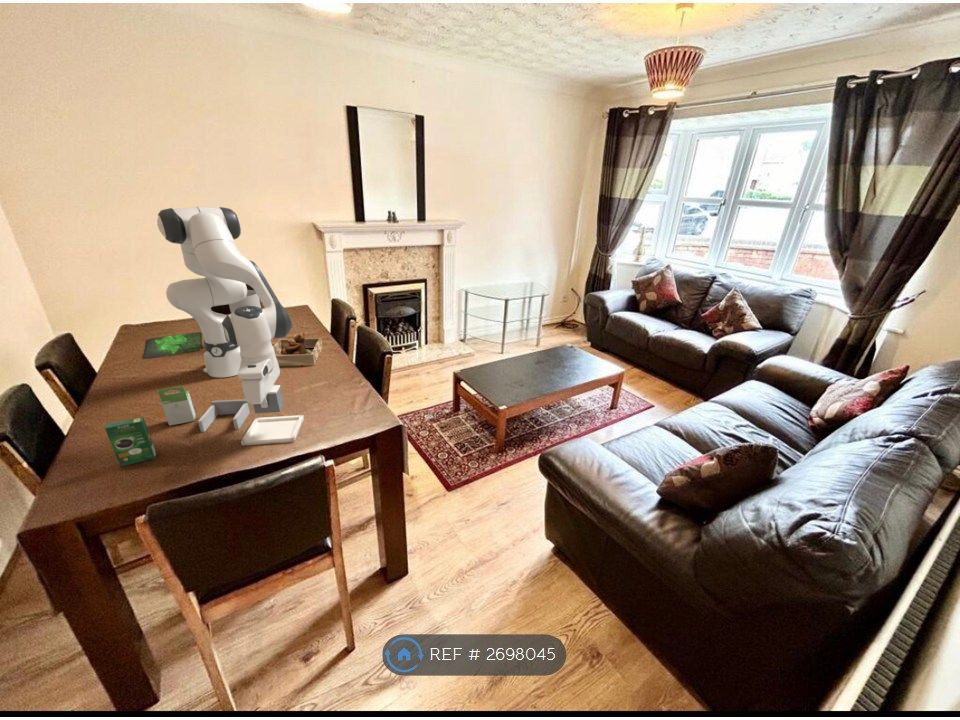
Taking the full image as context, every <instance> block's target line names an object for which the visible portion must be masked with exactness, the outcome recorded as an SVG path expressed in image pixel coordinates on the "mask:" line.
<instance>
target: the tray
mask: <svg viewBox="0 0 960 720" xmlns="http://www.w3.org/2000/svg"><path fill="white" fill-rule="evenodd" d="M304 419H305V415H304V414H301V415H297V414H296V415H284V416H282V415H281V416H269V417H266V416H265V417H264V416H263V417H255V419H254V420H253V422H252V423H251V424H250V427H249V428H248V429H247V431H246V432H245V435H244V436H243V437H242V439H241V441H240V443H241V446H255V445H268V444H269V445H270V444H282V443H285V444H286V443H294V442H296V440H297V437H298V435H299V433H300V430H301V428H302V425H303V422H304Z"/></svg>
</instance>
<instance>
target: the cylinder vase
mask: <svg viewBox="0 0 960 720" xmlns="http://www.w3.org/2000/svg"><path fill="white" fill-rule="evenodd" d="M228 306H229V310H230V314H233V312H234V310H236V309H237V308H239V307H243V306H256V307H259V308H261V309H262V306H261V300H260V299H259V297H258V295H257V294H256V292H255V290H254V289H253V290H252V289H247V295H246V297H245V299H244V300H242V301H239V302H236V303H232V304H228Z"/></svg>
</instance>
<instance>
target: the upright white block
mask: <svg viewBox="0 0 960 720" xmlns="http://www.w3.org/2000/svg"><path fill="white" fill-rule="evenodd" d="M266 400H268V402H269V405H268V407H267V408H262V407H261V404H252V405H253V408H254V412H255V414H268V413H269V414H270V413H281V411H282V409H283V407H284V406H285V402H284V398H283V394H282V389H281V385H280V384H275V385H273V386H272V388H271V389H270V391H269V392H268V394H267V395H266Z"/></svg>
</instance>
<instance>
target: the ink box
mask: <svg viewBox="0 0 960 720" xmlns="http://www.w3.org/2000/svg"><path fill="white" fill-rule="evenodd" d="M170 391H177V392H172V393H167V392H170ZM157 393H158V396H159V399H160V402H161V407H162V408H163V411H164V412H163V413H164V415H165V417H166V418H165V419H166V421H167V424H168V425H169V427H171V426H175V425H180V424H185V423H186V424H187V423H191V422H195V421H196V417H197V414H196V410H195V406H194V404H193V401H192V397H191V394H190V391H189V390H186V389H185V386H184V385H179V386H174V387H168V388H161V389H157Z"/></svg>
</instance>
